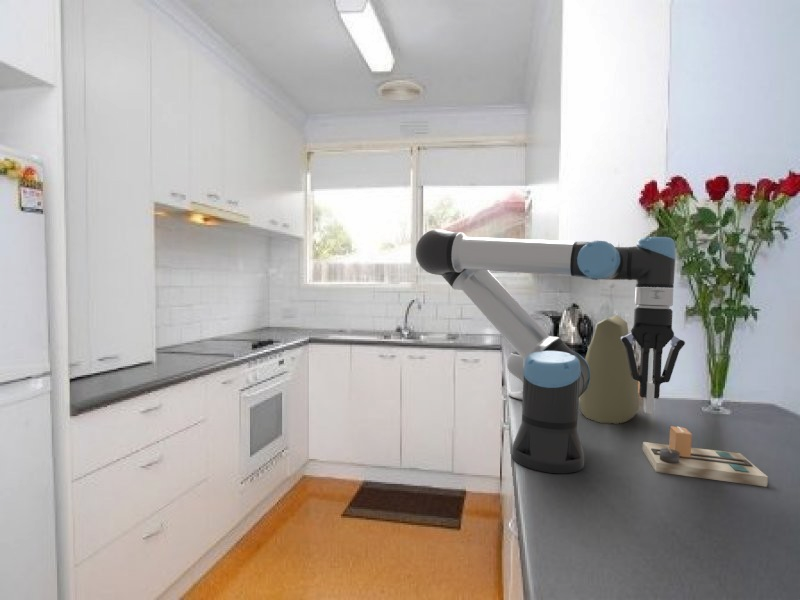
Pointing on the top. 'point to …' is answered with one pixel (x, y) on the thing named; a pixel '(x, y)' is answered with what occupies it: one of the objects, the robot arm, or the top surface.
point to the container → (609, 376)
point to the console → (704, 464)
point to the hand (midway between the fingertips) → (648, 412)
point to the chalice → (516, 371)
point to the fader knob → (680, 441)
